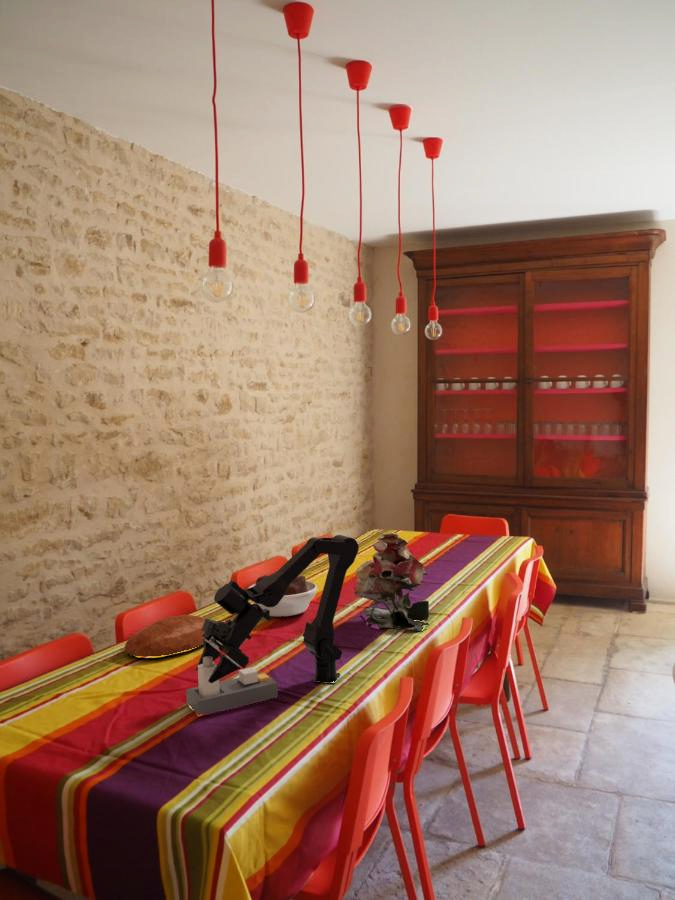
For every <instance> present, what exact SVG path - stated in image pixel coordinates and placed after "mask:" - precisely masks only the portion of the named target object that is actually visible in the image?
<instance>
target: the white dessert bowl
mask: <svg viewBox="0 0 675 900" xmlns="http://www.w3.org/2000/svg"><path fill="white" fill-rule="evenodd" d="M267 576H268V575H267V574H264V575H262V576H259V577H258V578H257V579H256V581H255V583H253V584H252V585H250V586H248V588H251V587H254V586H255V585H256V584H257V583H258V582H259V581H261V580H262V579H264V578H265V577H267ZM317 592H318V586H317V584H316V583H314V582H313V581H310V580H307V579H306V576H304V575H299V576H298V577H297V578H295V579H294V580H293V581H292V582H291V584H290V585H289V586H288V589H287V591H286V594H285V595H284V597H283V598H282V599H281V601H280V602H279V603H278V604H277V605H276V606H275V607H266V606H264V605H262V604H258V605H259V606H260V607H261V608H262V609H268V610H269V611H270V617H282V616H283V617H290V616H291V617H292V616H296V615H299V614H302V613H304V612H305V611H306V610H307V609H309V608H308V607H309V605H310V602H311V601H312V600H313V599H314V597H315V596H316V595H317ZM251 602H252V604H257V603H255V602H253V601H251Z"/></svg>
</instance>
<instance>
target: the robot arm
mask: <svg viewBox="0 0 675 900" xmlns="http://www.w3.org/2000/svg"><path fill="white" fill-rule="evenodd" d="M359 549H360V546H359V543H358V541H357V540H356V539H355V538H353V537H349V536H346V535H342V534H337V535H334V536H333V537H314V536H312V537H310V538H308V539H307V541H306V543H305V544H304V545H303V546H301V548H299V550H298V551H297V552H296V553H295V554H294V555H292V556H291V557H290V559H288V560H287V562H285V563H284V564H283V565H282V566H281V567H280V568H279V569H278V570H277V571H275V572H274V573H271V574H268V575H267V577H265V578H264V579H262V580H261V581H259V582H258V583H257V584H256V583H255V584H256V585H255V586H254V587H251V588H249V587H248V588H245V589H243V588H242V587H240V585H239V584H238V583H237V582H236V581H234V580H233V579H231V580H230V581H229V582H228V583H225V584H224V585H222V586H221V587H219V589H218V590H217V591H216V592H215V594H214V597H213V600H214V602H215V603H216V604H218V605H219V606H220V608H222V609H223V610H225V612H227V613H228V614H229V615H235V614H236V615H235V616H234V618H233V619H232V620H231V619H227V620H226V621H221V620H214V619H210V618H204V619H205V622H204V624H203V627H202V631H204V634H203V635H202V636H203V637H204V638H205V639H206V640H204V639H202V641H203V645H202V646H203V651H202V652H201V655H200V658H199V659H198V663H197V666H196V667H195V671H196V672H198V665H200V664H203V657H206V656H211V657H213V662H214V661H216V660H217V659H218V658H219V662H218V664H216V665H217V666H216V668H215V670H214V671H213V673H212V674H211V676H210V678H209V680H208V681H209V682H210V683H213V682H215V681H217V680H219V681H220V679H222V678H224V677H226V676H228V675H230V674H232V673H235V672H236V671H239V670H242V669H246V667H247V666H248V664H249V663H250V660H249V659H250V658H249V656H247V655H246V654H245V653H243V652H242V649H240V648H241V647H242V646H243V644H244V643H245V642H246V640H248V641H251V639H252V635H251V634H252V632H253V631H254V630H255V628H256V627H257V626H258V624H259V623H260V622H261V620H262V619H264V620H266V621H267V622H271V616H270V611H269V610H268V609H262V608H261V607H260V606H259V605H258V604H262V605H264V606H266V607H275V606H276V605H277V604H278V603H279V602H280V601H281V599H282V598H283V597H284V595H285V594H286V591H287V589H288V586H289V585H290V584H291V582H292V581H293V580H294V579H295V578H297V577H299V576H301V575H302V573H303V572H304V571H305V570H306V569H307V568H308V567H309V566H310V565H311V564H312V563H313V562H314V561H315V560H316V559H317V558H318V557H320V555H321V554H322V555H326V554H327V559H328V564H329V565H328V570H327V574H326V577H325V578H326V579H325V582H324V585H323V589H322V592H321V597H320V601H319V604H318V608H317V612H316V615H315V618H314V619H313V620H312V621H311V622H309V621H306V623H305V626H304V627H305V628H304V631H303V633H302V636H301V637H303V641H302V642H303V645H305V648H306V649H308V650H309V653H310V654H311V655H313V656H314V667H315V668H314V669H315V670H314V671H315V672H314V673H315V675H314V676H313V677H312V679H311V682H312V681H320V682H333V681H334V682H335V681H336V680H338V679H339V678H338V677H340V676H341V673H340V672H337V661H338V660H340V659H341V657H342V653H343V651H342V650H341V649H340V648H339V647H337V645H336V644H335V629H334V620H335V616H336V612H337V608H338V604H339V601H340V596H341V593H342V590H343V585H344V582H345V578H346V574H347V572H348V569H350V567H351V566H352V565H353V564H354V563H355V560H356V558H357V555H358V553H359ZM249 600H250V601H251V602H252V601H253V602H255V603H257V604H254V603H253V602H252V603H250V602H249ZM224 654H225V655H224ZM339 675H340V676H339ZM337 678H338V679H337ZM336 682H337V681H336Z"/></svg>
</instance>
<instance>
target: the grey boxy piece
mask: <svg viewBox="0 0 675 900" xmlns="http://www.w3.org/2000/svg"><path fill="white" fill-rule="evenodd" d="M219 689H220V694H216V695H212V696H208V697H204V698H201V697H200V696H199V686H196V687H191V688H186V689H185V694H186V704H187V703H188V704H189V705H190V706H191V707H192V709H194V711H195V712H196V713H197V714H198V715H200V714H205V713H210V712H214V711H218V710H223V709H228V708H233V707H237V706H241V705H245V704H249V703H253V702H257V701H261V700H266V699H271V698H274V697H279V696H278V695H279V694H278V682H277V681H276V680H274V679H273V678H272V677H271V676H269V675H268V674H266V673H265V672H264V671H262V672H258V671H257V670H256V669H255V668H253V667H252V666H250V667H247V668H246V667H245V668H241V669H240V670H238V677H236V678H230V679H225V680H222V681H219Z"/></svg>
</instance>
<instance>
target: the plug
mask: <svg viewBox="0 0 675 900" xmlns="http://www.w3.org/2000/svg"><path fill="white" fill-rule="evenodd" d="M197 665H198V664H197ZM217 665H218V664H216V663H215V662H214V661H213V657H211V656H206V657H203V664H200V665H198V671H197V676H198V677H197V678H198V681H197V682H198V687H199V696H200V697H201V698H204V697H208V696H212V695H216V694H220V689H219V682H220V679H219V680H217V681H215V682H213V683H210V682H209V681H208V680H209V678H210V676H211V674H212V673H213V671H214V670H215V668H216V666H217Z"/></svg>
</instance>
